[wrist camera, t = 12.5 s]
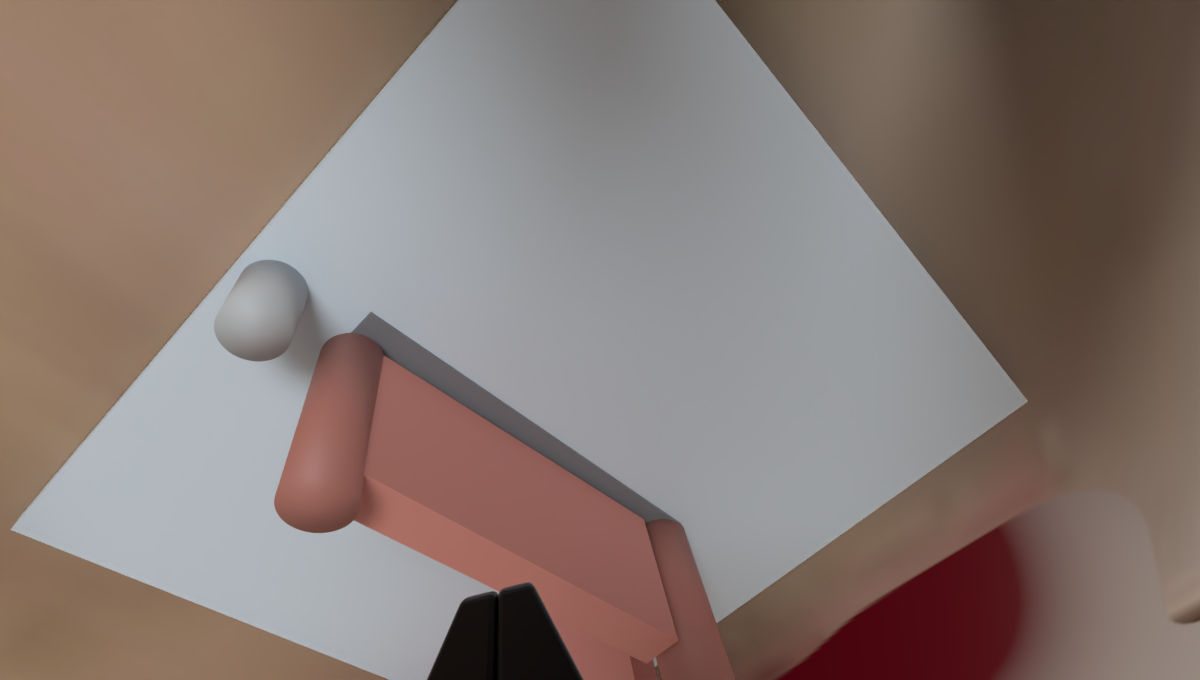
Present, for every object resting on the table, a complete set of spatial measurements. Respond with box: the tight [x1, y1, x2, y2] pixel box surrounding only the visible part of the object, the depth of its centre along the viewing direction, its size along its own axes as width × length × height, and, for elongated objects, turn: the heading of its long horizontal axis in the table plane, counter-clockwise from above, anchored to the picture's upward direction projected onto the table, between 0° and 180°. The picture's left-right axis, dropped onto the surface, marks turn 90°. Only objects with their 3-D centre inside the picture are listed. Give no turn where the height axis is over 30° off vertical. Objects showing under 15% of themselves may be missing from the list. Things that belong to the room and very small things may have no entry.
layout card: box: [11, 0, 1028, 680], centre depth 21 cm, size 23×21×3 cm
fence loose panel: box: [274, 333, 678, 664], centre depth 19 cm, size 11×2×5 cm, turn 45°
